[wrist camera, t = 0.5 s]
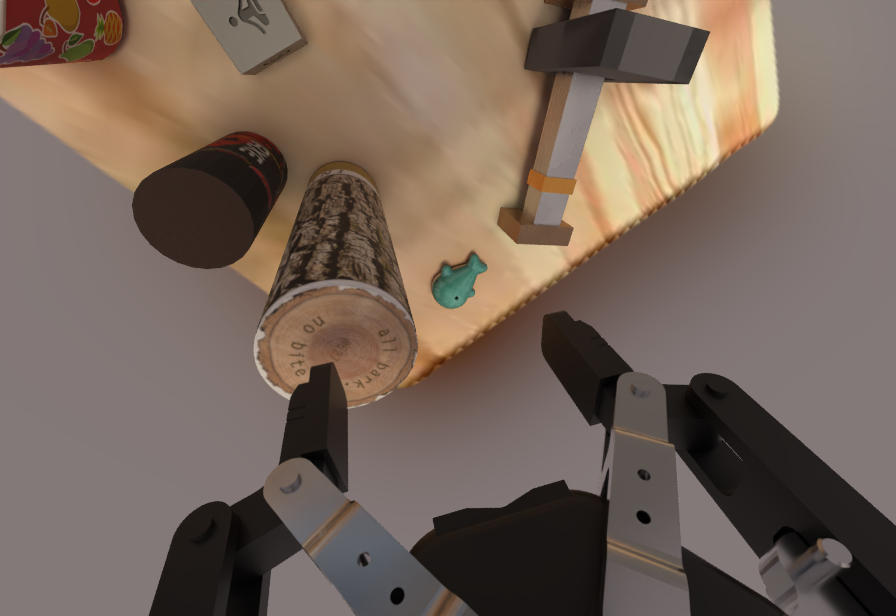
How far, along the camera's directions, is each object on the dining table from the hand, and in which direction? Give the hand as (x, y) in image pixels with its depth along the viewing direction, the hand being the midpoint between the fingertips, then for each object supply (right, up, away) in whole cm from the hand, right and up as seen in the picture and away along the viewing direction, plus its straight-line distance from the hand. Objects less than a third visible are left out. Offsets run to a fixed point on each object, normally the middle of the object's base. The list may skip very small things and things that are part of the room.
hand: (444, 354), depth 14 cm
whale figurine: (+1, +6, +31) cm, 31 cm away
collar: (+11, +25, +20) cm, 34 cm away
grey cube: (-14, +24, +14) cm, 32 cm away
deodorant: (-18, +15, +19) cm, 30 cm away
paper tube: (-10, +13, +23) cm, 28 cm away
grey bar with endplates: (+10, +21, +23) cm, 33 cm away
